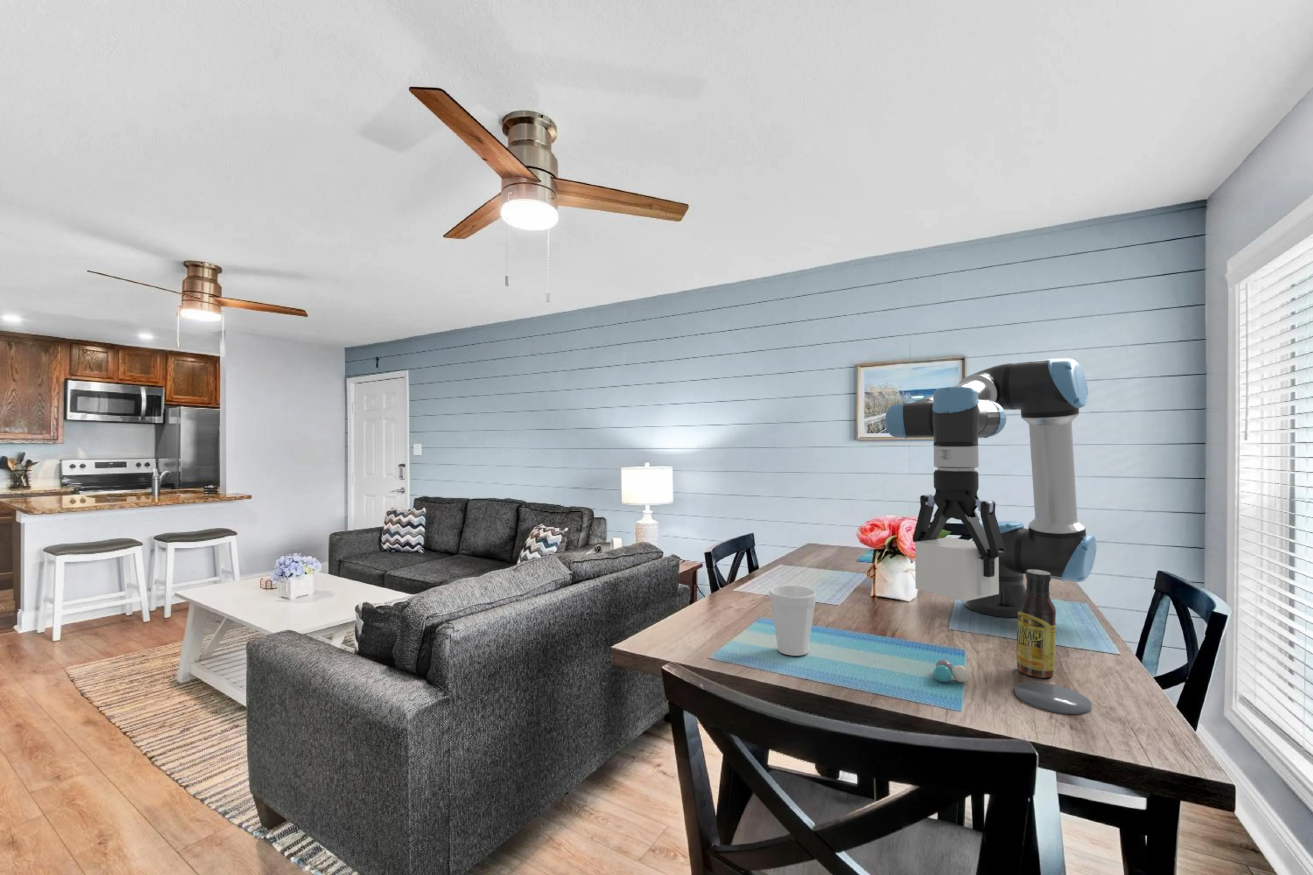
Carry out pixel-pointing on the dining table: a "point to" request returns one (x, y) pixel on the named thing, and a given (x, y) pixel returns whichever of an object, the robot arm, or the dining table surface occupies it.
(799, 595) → the cup
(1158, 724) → the dining table surface
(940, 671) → the teal marble
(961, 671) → the cream marble
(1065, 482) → the robot arm
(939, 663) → the smoky marble
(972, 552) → the white block
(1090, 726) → the dining table surface
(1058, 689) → the dark grey disc
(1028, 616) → the sauce bottle
